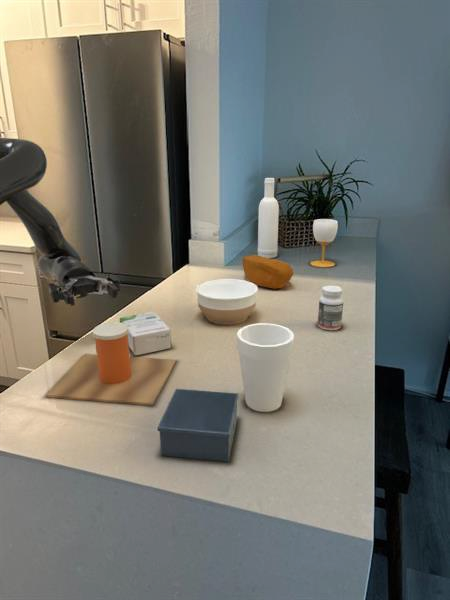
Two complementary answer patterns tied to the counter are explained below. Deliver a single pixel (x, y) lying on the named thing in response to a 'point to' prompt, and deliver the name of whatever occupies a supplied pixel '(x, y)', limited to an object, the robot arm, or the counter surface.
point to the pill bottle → (330, 308)
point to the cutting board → (135, 390)
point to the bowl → (226, 300)
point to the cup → (324, 238)
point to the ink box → (147, 333)
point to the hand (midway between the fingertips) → (94, 297)
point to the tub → (112, 352)
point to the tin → (199, 425)
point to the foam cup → (264, 363)
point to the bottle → (268, 222)
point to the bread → (266, 271)
